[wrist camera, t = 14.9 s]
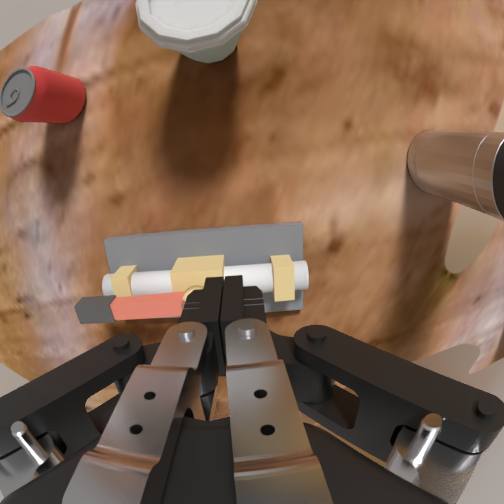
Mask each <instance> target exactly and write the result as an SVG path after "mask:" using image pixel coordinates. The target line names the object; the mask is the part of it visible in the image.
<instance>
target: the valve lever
mask: <svg viewBox="0 0 504 504" xmlns="http://www.w3.org/2000/svg"><path fill="white" fill-rule="evenodd" d="M203 288H204V287H203V286H199V285H194V286H191V287H189V288H188V289H187V290H186V291H182V292H172V293H161V294H149V295H137V296H125V297H116V295H109V296H96V297H82V298H81V299H80V301H79V302H78V303H77V304H76V305H75V306H74V307H75V310H76V313H77V316H78V318H79V321H80V324H90V323H115V322H116V320H129V319H146V318H161V317H175V316H181V314H182V310H183V307H184V304H185V301H186V298H187V296H188V295H189V294H190V293H191V292H192V291H193V290H197V289H203Z"/></svg>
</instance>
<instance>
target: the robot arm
mask: <svg viewBox="0 0 504 504" xmlns="http://www.w3.org/2000/svg"><path fill="white" fill-rule="evenodd" d="M407 162H408V169H409V173H410V176H411V178H412V180H413V181H414V183H415V184H416V185H417V186H418V187H419V188H420V189H421V190H423V191H425V192H427V193H430V194H433V195H436V196H439V197H442V198H445V199H447V200H450V201H453V202H456V203H459V204H461V205H464V206H467V207H470V208H472V209H475V210H477V211H480V212H482V213H485V214H488V215H490V216H493V217H495V218H498V219H500V220H502V221H504V133H500V132H482V131H459V130H427V131H424V132H421V133H420V134H418V135H417V136H416V137H415V138H414V140H413V141H412V143H411V145H410V147H409V151H408V159H407ZM226 374H227V388H228V401H229V414H230V417H227V418H222V419H218V420H213V419H214V414H215V408H216V402H217V397H218V388H217V384H218V376H226ZM335 381H337V382H339V383H341V384H343V385H344V386H346V387H348V388H350V389H352V390H353V391H355V392H356V394H357V395H358V396H359V397H357V396H355V395H354V394H352V393H350V392H348V391H346V390H344V389H342V388H340V387H339V386H337V385H335V384H334V383H335ZM113 382H114V383H115V385H116V388H117V390H118V392H119V394H118V395H116V396H114V397H113V398H111V399H110V400H108V401H106V402H105V403H103V404H102V405H100V406H98V407H97V408H95V409H94V410H92V411H90V412H87V411H86V409H85V403H86V401H87V399H88V398H89V397H90V396H92V395H94V394H95V393H97V392H99V391H100V390H102V389H103V388H105V387H107V386H108V385H110V384H112V383H113ZM299 411H301V412H302V413H304V414H305V415H307V416H308V417H310V418H311V419H313V420H314V421H316V422H318V423H319V424H321V425H322V426H324V427H326V428H327V429H329V430H330V431H332V432H334V433H335V434H337V435H339V436H340V437H342V438H343V439H345V440H347V441H349V442H350V443H352V444H354V445H355V446H357V447H359V448H361V449H362V450H364V451H366V452H368V453H369V454H371V455H373V456H375V457H377V458H379V459H380V460H382V461H384V462H386V468H384V467H382V466H380V465H379V464H377V463H376V462H374V461H372V460H371V459H369V458H367V457H366V456H364V455H362V454H361V453H359V452H358V451H356V450H354V449H353V448H351V447H350V446H348V445H347V444H345V443H344V442H342V441H341V440H339V439H337V438H336V437H334V436H333V435H331V434H330V433H328V432H327V431H325V430H323V429H321V428H319V427H316V426H314V425H311V424H308V423H303V421H302V418H301V415H300V412H299ZM503 426H504V403H503V402H502V401H501V400H500V399H499V398H498V397H496V396H495V395H492V394H490V393H487V392H485V391H482V390H479V389H477V388H474V387H471V386H469V385H466V384H464V383H461V382H459V381H456V380H453V379H451V378H448V377H446V376H443V375H441V374H438V373H436V372H433V371H431V370H429V369H426V368H423V367H421V366H419V365H416V364H414V363H411V362H409V361H407V360H404V359H402V358H399V357H397V356H395V355H392V354H390V353H388V352H385V351H383V350H381V349H378V348H376V347H374V346H371V345H369V344H367V343H364V342H362V341H360V340H357V339H355V338H353V337H351V336H348V335H346V334H344V333H341V332H339V331H337V330H335V329H332V328H330V327H327V326H323V325H310V326H306V327H303V328H301V329H299V330H298V331H297V332H296V333H295V334H294V337H287V336H281V335H278V334H275V333H274V332H272V331H271V330H270V329H269V327H268V325H267V322H266V315H265V308H264V301H263V294H262V290H260V289H259V288H258V287H257V286H243V275H235V276H225V279H224V276H221V277H206V279H205V283H204V288H203V289H197V290H193V291H192V292H191V293H190V294H189V295H188V296H187V298H186V301H185V304H184V307H183V310H182V314H181V317H180V320H179V323H178V324H176V325H174V326H172V327H170V328H169V329H168V330H167V331H166V333H165V335H164V337H163V339H162V342H159V343H154V344H150V345H145V346H143V344H142V341H141V339H140V338H139V337H138V336H135V335H131V334H123V335H118V336H115V337H113V338H111V339H109V340H107V341H105V342H103V343H101V344H100V345H98V346H96V347H94V348H92V349H90V350H88V351H87V352H85V353H83V354H81V355H79V356H77V357H75V358H74V359H72V360H70V361H68V362H66V363H64V364H62V365H61V366H59V367H57V368H55V369H53V370H51V371H49V372H47V373H46V374H44V375H42V376H40V377H38V378H36V379H34V380H32V381H31V382H29V383H27V384H25V385H23V386H21V387H19V388H17V389H16V390H14V391H12V392H10V393H8V394H6V395H4V396H2V397H1V398H0V489H1V492H2V494H3V496H4V499H3V500H2V501H1V503H0V504H456V503H457V501H458V499H459V498H460V496H461V494H462V492H463V490H464V489H465V487H466V485H467V483H468V481H469V479H470V477H471V475H472V473H473V471H474V469H475V467H476V464H477V462H478V461H479V460H480V458H481V457H482V456H483V455H484V453H485V452H486V451H487V449H488V448H489V446H490V445H491V443H492V442H493V441H494V439H495V438H496V437H497V435H498V434H499V432H500V431H501V429H502V427H503Z"/></svg>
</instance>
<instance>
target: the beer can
mask: <svg viewBox="0 0 504 504" xmlns="http://www.w3.org/2000/svg"><path fill="white" fill-rule="evenodd" d="M85 98H86V92H85V87H84V85H83V83H82V82H81V81H80V80H79V79H76V78H74V77H71V76H68V75H64V74H61V73H58V72H55V71H52V70H48V69H45V68H42V67H38V66H31V67H26V68H25V67H23V68H18V69H17V70H15V71H13V72H12V73H11V74H10V75H9V76H8V78H7V79H6V81H5V82H4V84H3V87H2V89H1V94H0V107H1V110H2V112H3V113H4V114H5V115H6V116H8V117H11V118H12V119H14V120H16V121H19V122H46V123H67V122H69V121H71V120H73V119H74V118H75V117H77V116H78V114H79V113H80V112H81V110H82V108H83V106H84V104H85Z"/></svg>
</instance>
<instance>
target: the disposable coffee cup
mask: <svg viewBox="0 0 504 504" xmlns="http://www.w3.org/2000/svg"><path fill="white" fill-rule="evenodd" d="M257 2H258V1H257V0H137V1H136V3H135V4H136V10H137V17H138V23H139V27H140V30H141V31H142V32H143V33H144V34H145V35H146V36H148V37H149V38H150V39H151V40H152V41H153V42H154V43H155V44H157V45H158V46H159V47H161V48H167V49H172V50H174V51H176V52H179V53H181V54H183V55H185V56H187V57H189V58H191V59H193V60H195V61H200V62H204V63H212V62H217V61H221V60H223V59H225V58H226V57H227V56H228V55H230V54H231V53H232V52H233V51H234V49H235V47H236V45H237V43H238V40H239V38H240V36H241V34H242V31H243V29H244V28H245V27H247V26H248V23H249V21H250V19H251V16H252V14H253V11H254V9H255V7H256V4H257Z"/></svg>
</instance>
